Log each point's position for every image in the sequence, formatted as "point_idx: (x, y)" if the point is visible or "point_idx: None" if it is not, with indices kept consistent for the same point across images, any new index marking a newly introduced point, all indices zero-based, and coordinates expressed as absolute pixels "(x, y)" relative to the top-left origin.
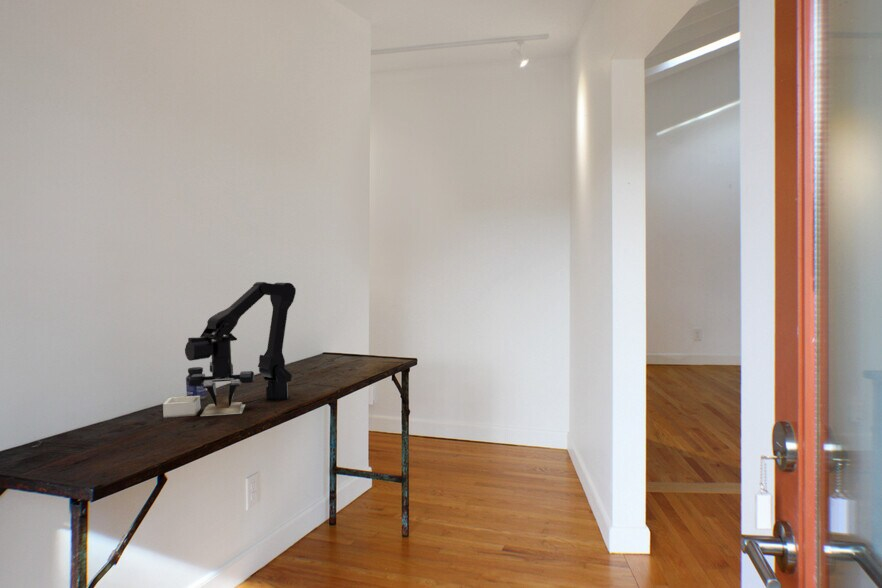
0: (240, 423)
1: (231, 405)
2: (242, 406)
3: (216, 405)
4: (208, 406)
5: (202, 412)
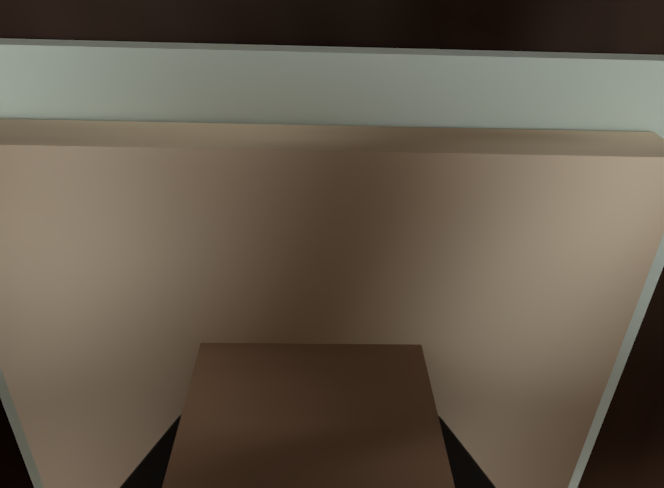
0: None
1: (448, 389)
2: None
3: None
4: (17, 349)
5: (10, 424)
